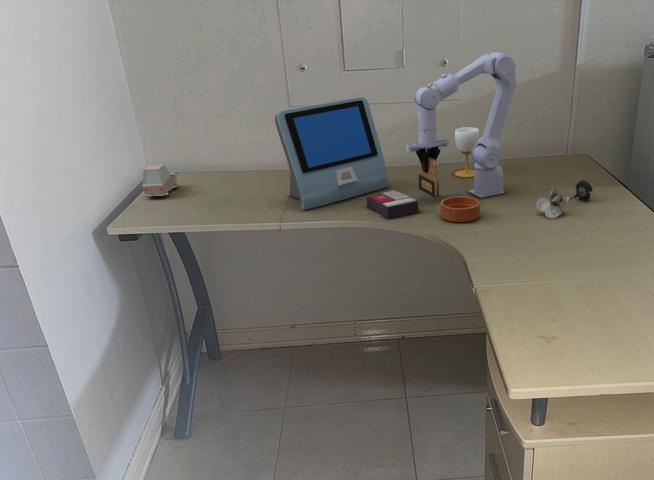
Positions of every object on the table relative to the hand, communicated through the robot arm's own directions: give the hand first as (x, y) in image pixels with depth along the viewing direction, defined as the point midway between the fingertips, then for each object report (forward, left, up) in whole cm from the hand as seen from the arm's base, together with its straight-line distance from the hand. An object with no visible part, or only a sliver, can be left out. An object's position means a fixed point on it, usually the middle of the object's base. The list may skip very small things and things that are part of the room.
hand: (428, 171), depth 208 cm
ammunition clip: (0, 0, -7) cm, 7 cm away
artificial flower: (-33, +30, -10) cm, 46 cm away
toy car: (+76, -59, -10) cm, 97 cm away
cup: (-27, -20, -10) cm, 35 cm away
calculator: (+14, +1, -10) cm, 17 cm away
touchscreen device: (+24, -24, -10) cm, 35 cm away
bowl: (-1, +18, -10) cm, 21 cm away
